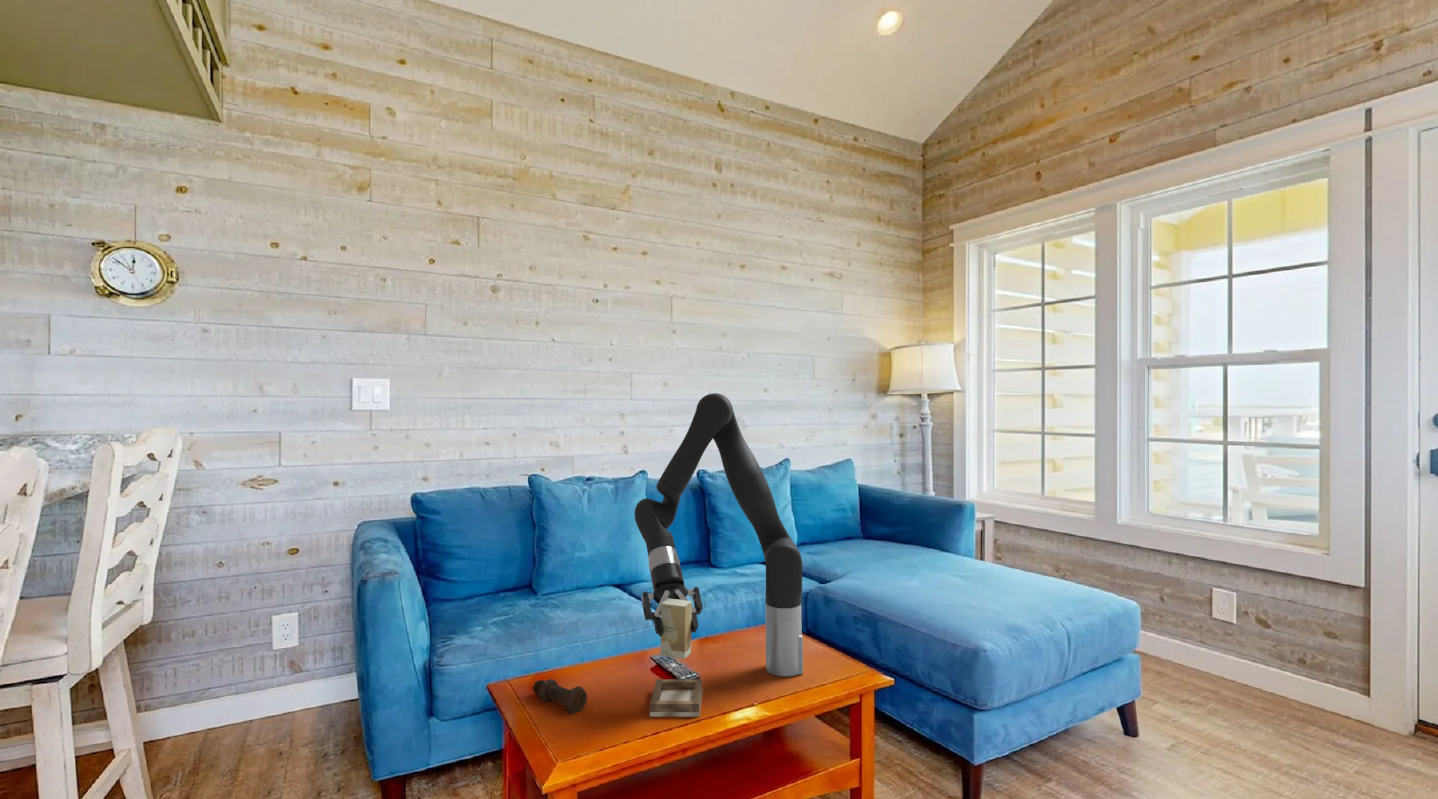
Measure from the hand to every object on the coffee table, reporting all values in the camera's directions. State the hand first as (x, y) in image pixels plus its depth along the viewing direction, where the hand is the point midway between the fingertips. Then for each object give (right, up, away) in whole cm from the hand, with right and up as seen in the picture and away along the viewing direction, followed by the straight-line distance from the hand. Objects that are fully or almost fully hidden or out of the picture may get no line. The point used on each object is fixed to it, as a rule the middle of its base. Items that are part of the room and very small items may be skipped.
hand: (678, 632), depth 151 cm
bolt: (-28, -17, +2) cm, 33 cm away
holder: (0, -17, +1) cm, 17 cm away
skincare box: (0, -6, +1) cm, 6 cm away
